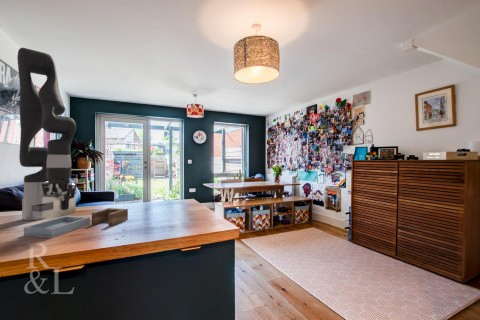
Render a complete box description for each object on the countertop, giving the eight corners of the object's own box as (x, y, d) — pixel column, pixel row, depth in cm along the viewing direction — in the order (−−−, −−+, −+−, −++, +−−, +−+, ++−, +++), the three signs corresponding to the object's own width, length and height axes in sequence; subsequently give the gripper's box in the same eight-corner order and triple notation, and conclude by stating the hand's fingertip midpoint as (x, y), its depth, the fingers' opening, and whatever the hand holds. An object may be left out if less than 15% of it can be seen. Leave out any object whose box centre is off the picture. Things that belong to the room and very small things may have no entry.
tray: (23, 235, 80) (23, 227, 80) (65, 222, 95) (65, 215, 95) (51, 237, 78) (51, 229, 78) (89, 224, 93) (89, 217, 93)
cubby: (91, 224, 93) (91, 212, 93) (108, 218, 103) (108, 207, 103) (112, 226, 92) (112, 214, 92) (127, 219, 101) (127, 209, 101)
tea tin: (30, 220, 79) (30, 196, 79) (65, 212, 92) (65, 191, 91) (42, 221, 78) (42, 197, 78) (75, 212, 91) (75, 191, 91)
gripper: (33, 166, 84) (33, 210, 84) (65, 167, 81) (65, 212, 81) (53, 165, 91) (53, 206, 91) (83, 166, 89) (83, 208, 89)
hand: (59, 209), depth 86 cm, fingers closed on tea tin, 5 cm apart
